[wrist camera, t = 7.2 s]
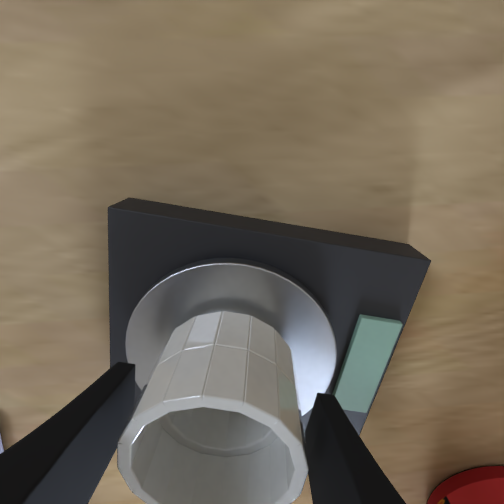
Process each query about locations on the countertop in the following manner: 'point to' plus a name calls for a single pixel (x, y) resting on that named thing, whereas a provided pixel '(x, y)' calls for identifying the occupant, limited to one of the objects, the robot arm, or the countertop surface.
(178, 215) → the scale
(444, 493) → the canned food
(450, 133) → the countertop surface
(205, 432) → the cup
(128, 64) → the countertop surface
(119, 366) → the robot arm
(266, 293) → the scale pan
